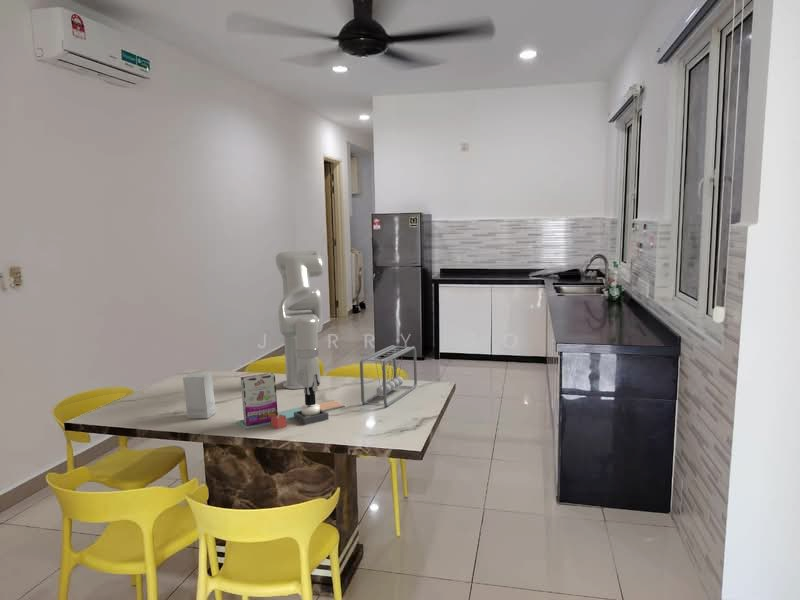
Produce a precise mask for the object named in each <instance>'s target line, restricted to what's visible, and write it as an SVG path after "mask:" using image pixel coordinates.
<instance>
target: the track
mask: <svg viewBox="0 0 800 600" xmlns="http://www.w3.org/2000/svg"><path fill="white" fill-rule="evenodd" d="M329 401H330V400H328V401H325V402H329ZM331 401H335V400H332V399H331ZM325 402H324V401H323V402H322V403H325ZM320 403H321V402H318V403H317V404H320ZM301 407H302V406H300V407H296V408H292V409H287V410H282V411H278V414H281V415H284V416H286V421H290V420H293V419H294V412H297V411H301ZM345 407H346V405H344V406H342V407H337V408H333V409H328V410H324V411H325V412H329V411H334V410H337V409H342V408H345ZM235 423H236V424H238V425H239V426H241V427H242V428H243V429H244V430H250V429H254V428H260V427H264V426H267V425H272V424H271V422H266V423H261V424H255V425H250V426H247V425H246V424H245V423H244V419H239V420H236V422H235ZM243 423H244V424H243Z"/></svg>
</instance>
